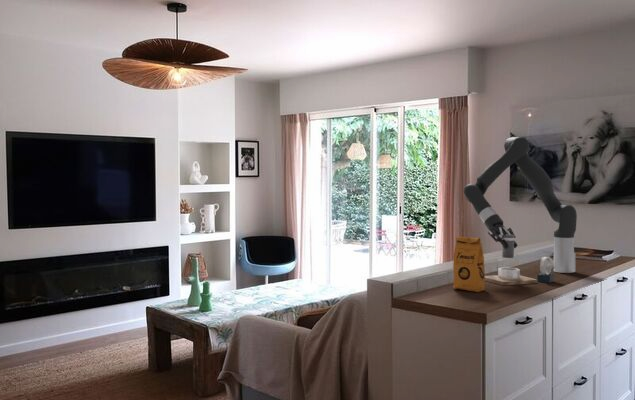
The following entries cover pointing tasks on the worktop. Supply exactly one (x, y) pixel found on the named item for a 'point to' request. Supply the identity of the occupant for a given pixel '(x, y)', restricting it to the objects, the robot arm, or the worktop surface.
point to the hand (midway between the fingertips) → (511, 247)
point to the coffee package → (469, 265)
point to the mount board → (510, 282)
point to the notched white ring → (509, 273)
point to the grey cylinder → (510, 250)
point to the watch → (546, 270)
